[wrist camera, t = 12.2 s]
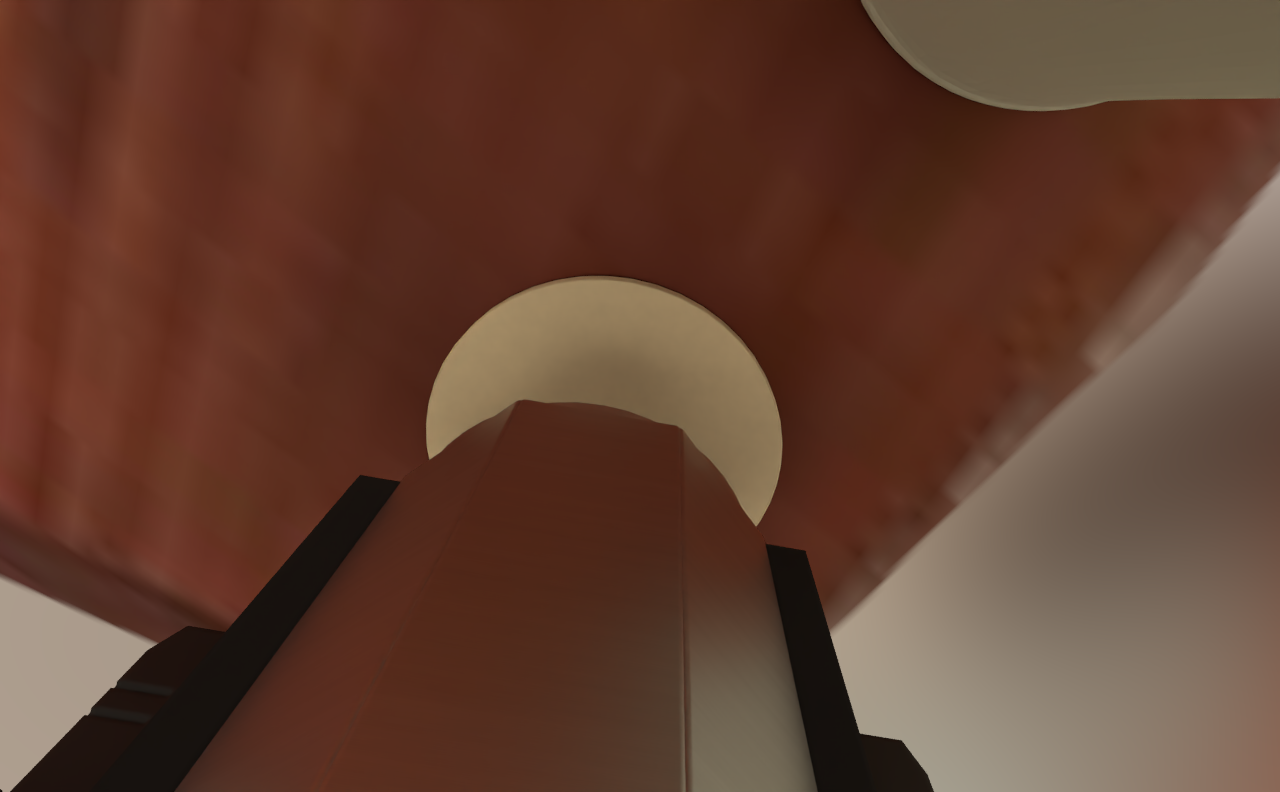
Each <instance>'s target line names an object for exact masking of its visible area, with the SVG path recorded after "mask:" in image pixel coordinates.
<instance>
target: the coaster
mask: <svg viewBox="0 0 1280 792" xmlns="http://www.w3.org/2000/svg"><path fill="white" fill-rule="evenodd" d="M523 399H527V400H533V401H539V402H544V403H552V402H581V403H589V404H598V405H605V406H609V407H613V408H618V409H622V410H626V411H629V412H632V413H635V414H637V415H640V416H643V417H645V418H648V419H651V420H653V421H655V422H659V423H665V424H671V425H676V426H678V427H679V428H681V429H683V430H684V431H685V433H686V434H687V435H688V437H689V438H690V439H691V441H692V442H693V443H694V445H695V446H696V447H697V449H698V450H699V451H700V452H702V453H703V454H704V455H705V456H706V457H707V458H708V459H709V460H710V461H711V462H712V463H713V464H714V465H715V467H716V468H717V469H718V470H719V471H720V472H721V474H722V475H723V476H724V477H725V479H726V480H727V482H728V484H729V485H730V487H731V488H732V490H733V491H734V493H735V495H736V497H737V499H738V501H739V503H740V506H741V507H742V509H743V510H744V511H745V513H746V514H747V515H748V517H749V518H750V519H751V521H752V522H753V523H754V525H755V526H757V525H758V524H759V522H760V521H761V519H762V517H763V515H764V513H765V511H766V510H767V508H768V506H769V504H770V502H771V499H772V496H773V494H774V491H775V488H776V486H777V482H778V477H779V472H780V468H781V460H782V444H783V443H782V432H781V421H780V417H779V413H778V409H777V405H776V401H775V398H774V395H773V392H772V390H771V387H770V385H769V383H768V380H767V378H766V375H765V373H764V372H763V370H762V368H761V367H760V365H759V363H758V361H757V360H756V358H755V356H754V355H753V354H752V352H751V351H750V350H749V348H748V347H747V346H746V345H745V343H744V342H743V341H742V340H741V338H740V337H739V336H738V335H737V334H736V333H735V332H734V331H733V330H732V329H731V328H730V327H729V326H728V325H726V324H725V323H724V322H723V321H722V320H721V319H720V318H718V317H717V316H715V315H714V314H713V313H711V312H710V311H709V310H707V309H706V308H705V307H703V306H702V305H700V304H698V303H696V302H694V301H692V300H691V299H689V298H687V297H685V296H683V295H682V294H679V293H677V292H674V291H672V290H669V289H666V288H664V287H661V286H659V285H656V284H652V283H648V282H644V281H640V280H636V279H631V278H622V277H613V276H579V277H572V278H566V279H559V280H554V281H551V282H547V283H544V284H540V285H537V286H534V287H531V288H529V289H527V290H524V291H522V292H520V293H518V294H515V295H513V296H511V297H509V298H508V299H506V300H504V301H503V302H501V303H500V304H498V305H496V306H495V307H493V308H492V309H490V310H489V311H488V312H487V313H485V314H484V315H483V316H482V317H481V318H479V319H478V320H477V321H476V322H475V323H474V324H473V325H472V326H471V327H470V328H469V329H468V330H467V331H466V332H465V334H464V335H463V336H462V337H461V338H460V339H459V340H458V341H457V343H456V344H455V345H454V347H453V348H452V350H451V351H450V353H449V354H448V356H447V357H446V359H445V361H444V362H443V364H442V366H441V368H440V371H439V373H438V375H437V377H436V380H435V382H434V385H433V388H432V392H431V396H430V399H429V403H428V411H427V420H426V441H427V450H428V455H429V460H430V459H431V458H433V457H434V456H436V455H437V454H438V453H440V452H441V451H442V450H443V449H444V448H445V447H446V446H447V445H448V444H449V443H451V442H452V441H453V440H454V439H456V438H457V437H458V436H459V435H461V434H462V433H463V432H465V431H466V430H468V429H470V428H472V427H473V426H475V425H477V424H478V423H480V422H482V421H484V420H486V419H488V418H491V417H493V416H495V415H497V414H498V413H500V412H501V411H502V410H504V409H505V408H507V407H508V406H510V405H511V404H513V403H514V402H516V401H517V400H521V401H522V400H523Z"/></svg>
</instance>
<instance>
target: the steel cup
mask: <svg viewBox="0 0 1280 792" xmlns="http://www.w3.org/2000/svg"><path fill="white" fill-rule="evenodd" d="M175 792H818V791H817V786H816V781H815V777H814V772H813V767H812V762H811V758H810V753H809V748H808V743H807V739H806V734H805V729H804V724H803V720H802V715H801V710H800V705H799V701H798V696H797V691H796V686H795V682H794V677H793V672H792V667H791V663H790V658H789V653H788V648H787V644H786V639H785V634H784V629H783V625H782V620H781V615H780V610H779V606H778V601H777V596H776V591H775V587H774V582H773V577H772V572H771V568H770V563H769V558H768V553H767V549H766V544H765V540H764V537H763V535H762V534H761V533H760V531H759V530H758V529H757V527H756V526H755V525H754V523H753V522H752V521H751V519H750V518H749V517H748V515H747V514H746V513H745V511H744V510H743V509H742V507H741V506H740V503H739V501H738V499H737V497H736V495H735V493H734V491H733V490H732V488H731V487H730V485H729V484H728V482H727V480H726V479H725V477H724V476H723V475H722V474H721V472H720V471H719V470H718V469H717V468H716V467H715V465H714V464H713V463H712V462H711V461H710V460H709V459H708V458H707V457H706V456H705V455H704V454H703V453H702V452H700V451H699V450H698V449H697V447H696V446H695V445H694V443H693V442H692V441H691V439H690V438H689V437H688V435H687V434H686V433H685V431H684V430H683V429H681V428H679V427H678V426H676V425H671V424H665V423H659V422H655V421H653V420H651V419H648V418H645V417H643V416H640V415H637V414H635V413H632V412H629V411H626V410H622V409H618V408H613V407H609V406H605V405H598V404H589V403H581V402H552V403H544V402H539V401H533V400H527V399H523V400H522V401H521V400H517V401H516V402H514V403H513V404H511V405H510V406H508V407H507V408H505V409H504V410H502V411H501V412H500V413H498V414H497V415H495V416H493V417H491V418H488V419H486V420H484V421H482V422H480V423H478V424H477V425H475V426H473V427H472V428H470V429H468V430H466V431H465V432H463V433H462V434H461V435H459V436H458V437H457V438H456V439H454V440H453V441H452V442H451V443H449V444H448V445H447V446H446V447H445V448H444V449H443V450H442V451H441V452H440V453H438V454H437V455H436V456H434V457H433V458H431V459H430V460H428V461H427V462H425V463H424V464H422V465H421V466H419V467H418V468H416V469H415V470H413V471H412V472H410V473H409V474H407V475H406V476H405V477H404V478H403V480H402V481H401V482H400V484H399V485H398V487H397V488H396V489H395V491H394V492H393V493H392V495H391V496H390V497H389V499H388V500H387V502H386V503H385V504H384V506H383V507H382V508H381V510H380V511H379V513H378V514H377V515H376V517H375V518H374V519H373V521H372V522H371V523H370V525H369V526H368V528H367V529H366V530H365V532H364V533H363V534H362V536H361V537H360V539H359V540H358V541H357V543H356V544H355V545H354V547H353V548H352V549H351V551H350V552H349V554H348V555H347V556H346V558H345V559H344V560H343V562H342V563H341V564H340V566H339V567H338V569H337V570H336V571H335V573H334V574H333V575H332V577H331V578H330V580H329V581H328V582H327V584H326V585H325V586H324V588H323V589H322V590H321V592H320V593H319V595H318V596H317V597H316V599H315V600H314V601H313V603H312V604H311V606H310V607H309V608H308V610H307V611H306V612H305V614H304V615H303V616H302V618H301V619H300V621H299V622H298V623H297V625H296V626H295V627H294V629H293V630H292V632H291V633H290V634H289V636H288V637H287V638H286V640H285V641H284V642H283V644H282V645H281V647H280V648H279V649H278V651H277V652H276V653H275V655H274V656H273V657H272V659H271V660H270V662H269V663H268V664H267V666H266V667H265V668H264V670H263V671H262V673H261V674H260V675H259V677H258V678H257V679H256V681H255V682H254V683H253V685H252V686H251V688H250V689H249V690H248V692H247V693H246V694H245V696H244V697H243V699H242V700H241V701H240V703H239V704H238V705H237V707H236V708H235V709H234V711H233V712H232V714H231V715H230V716H229V718H228V719H227V720H226V722H225V723H224V725H223V726H222V727H221V729H220V730H219V731H218V733H217V734H216V735H215V737H214V738H213V740H212V741H211V742H210V744H209V745H208V746H207V748H206V749H205V750H204V752H203V753H202V755H201V756H200V757H199V759H198V760H197V761H196V763H195V764H194V766H193V767H192V768H191V770H190V771H189V772H188V774H187V775H186V776H185V778H184V779H183V781H182V782H181V783H180V785H179V786H178V787H177V789H176V790H175Z"/></svg>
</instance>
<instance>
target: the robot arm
mask: <svg viewBox="0 0 1280 792" xmlns="http://www.w3.org/2000/svg"><path fill="white" fill-rule="evenodd" d="M399 484H400V482H398V481H392V480H386V479H380V478H374V477H368V476H363V475H360V476H359V477H358V478H357V479H356V480H355V482H354V483H353V484H352V485H351V486H350V487H349V489H348V490H347V491H346V492H345V493H344V494H343V496H342V497H341V498H340V499H339V500H338V501H337V503H336V504H335V505H334V506H333V507H332V508H331V510H330V511H329V512H328V513H327V514H326V515H325V517H324V518H323V519H322V520H321V521H320V522H319V524H318V525H317V526H316V527H315V528H314V529H313V531H312V532H311V533H310V534H309V535H308V536H307V538H306V539H305V540H304V541H303V542H302V543H301V545H300V546H299V547H298V548H297V549H296V550H295V552H294V553H293V554H292V555H291V556H290V557H289V559H288V560H287V561H286V562H285V563H284V565H283V566H282V567H281V568H280V569H279V570H278V572H277V573H276V574H275V575H274V576H273V577H272V579H271V580H270V581H269V582H268V583H267V584H266V586H265V587H264V588H263V589H262V590H261V591H260V593H259V594H258V595H257V596H256V597H255V598H254V600H253V601H252V602H251V603H250V604H249V605H248V607H247V608H246V609H245V610H244V611H243V612H242V614H241V615H240V616H239V617H238V618H237V619H236V621H235V622H234V623H233V624H232V625H231V626H230V628H229V629H228V630H227V631H226V632H222V631H216V630H210V629H204V628H198V627H192V626H187V627H185V628H184V629H182V630H180V631H179V632H177V633H175V634H174V635H172V636H170V637H169V638H167V639H165V640H164V641H162V642H160V643H159V644H157V645H155V646H154V647H152V648H150V649H149V650H147V651H146V652H145V654H144V655H142V657H141V658H140V659H139V660H138V661H137V662H136V663H135V664H134V665H133V666H132V667H131V668H130V669H129V670H128V671H127V672H126V673H125V674H124V675H123V676H122V677H121V678H120V679H119V680H118V682H117V685H116V687H115V688H110V690H109V691H108V692H107V693H106V694H105V695H104V696H103V697H102V698H101V699H100V700H99V701H98V702H97V703H96V704H95V705H94V706H93V707H92V708H91V712H90V714H89V715H88V716H87V715H84V716H83V717H82V718H81V719H80V720H79V721H78V722H77V723H76V725H75V726H74V727H73V728H72V729H71V730H70V731H69V732H68V733H67V734H66V735H65V736H64V737H63V738H62V739H61V740H60V741H59V742H58V743H57V744H56V745H55V746H54V747H53V748H52V749H51V750H50V751H49V752H48V753H47V754H46V755H45V756H44V758H43V759H42V760H41V761H40V762H39V763H38V764H37V765H36V766H35V767H34V768H33V769H32V770H31V771H30V772H29V773H28V774H27V775H26V776H25V777H24V778H23V779H22V780H21V781H20V782H19V783H18V784H17V785H16V786H15V787H14V788H13V789H12V791H10V792H175V790H176V789H177V787H178V786H179V785H180V783H181V782H182V781H183V779H184V778H185V776H186V775H187V774H188V772H189V771H190V770H191V768H192V767H193V766H194V764H195V763H196V761H197V760H198V759H199V757H200V756H201V755H202V753H203V752H204V750H205V749H206V748H207V746H208V745H209V744H210V742H211V741H212V740H213V738H214V737H215V735H216V734H217V733H218V731H219V730H220V729H221V727H222V726H223V725H224V723H225V722H226V720H227V719H228V718H229V716H230V715H231V714H232V712H233V711H234V709H235V708H236V707H237V705H238V704H239V703H240V701H241V700H242V699H243V697H244V696H245V694H246V693H247V692H248V690H249V689H250V688H251V686H252V685H253V683H254V682H255V681H256V679H257V678H258V677H259V675H260V674H261V673H262V671H263V670H264V668H265V667H266V666H267V664H268V663H269V662H270V660H271V659H272V657H273V656H274V655H275V653H276V652H277V651H278V649H279V648H280V647H281V645H282V644H283V642H284V641H285V640H286V638H287V637H288V636H289V634H290V633H291V632H292V630H293V629H294V627H295V626H296V625H297V623H298V622H299V621H300V619H301V618H302V616H303V615H304V614H305V612H306V611H307V610H308V608H309V607H310V606H311V604H312V603H313V601H314V600H315V599H316V597H317V596H318V595H319V593H320V592H321V590H322V589H323V588H324V586H325V585H326V584H327V582H328V581H329V580H330V578H331V577H332V575H333V574H334V573H335V571H336V570H337V569H338V567H339V566H340V564H341V563H342V562H343V560H344V559H345V558H346V556H347V555H348V554H349V552H350V551H351V549H352V548H353V547H354V545H355V544H356V543H357V541H358V540H359V539H360V537H361V536H362V534H363V533H364V532H365V530H366V529H367V528H368V526H369V525H370V523H371V522H372V521H373V519H374V518H375V517H376V515H377V514H378V513H379V511H380V510H381V508H382V507H383V506H384V504H385V503H386V502H387V500H388V499H389V497H390V496H391V495H392V493H393V492H394V491H395V489H396V488H397V487H398V485H399ZM766 549H767V553H768V558H769V563H770V568H771V572H772V577H773V582H774V587H775V591H776V596H777V601H778V606H779V610H780V615H781V620H782V625H783V629H784V634H785V639H786V644H787V648H788V653H789V658H790V663H791V667H792V672H793V677H794V682H795V686H796V691H797V696H798V701H799V705H800V710H801V715H802V720H803V724H804V729H805V734H806V739H807V743H808V748H809V753H810V758H811V762H812V767H813V772H814V777H815V781H816V786H817V791H818V792H934V791H933V788H932V786H931V783H930V780H929V778H928V775H927V774H926V772H925V771H924V770H923V768H922V767H921V766H920V764H919V763H918V762H917V760H916V759H915V758H914V756H913V755H912V754H911V752H910V751H909V750H908V748H907V747H906V746H905V744H904V743H903V742H902V741H901V740H895V739H889V738H883V737H876V736H871V735H864V734H860V733H859V730H858V727H857V723H856V720H855V717H854V713H853V710H852V706H851V703H850V700H849V696H848V693H847V690H846V686H845V683H844V679H843V676H842V673H841V669H840V666H839V663H838V659H837V656H836V652H835V649H834V646H833V643H832V639H831V636H830V632H829V629H828V625H827V622H826V619H825V615H824V612H823V609H822V605H821V602H820V598H819V595H818V592H817V588H816V585H815V582H814V578H813V575H812V571H811V568H810V565H809V561H808V558H807V555H806V551H804V550H798V549H792V548H786V547H780V546H774V545H768V544H766ZM0 792H2V790H1V789H0Z"/></svg>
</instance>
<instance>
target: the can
mask: <svg viewBox="0 0 1280 792" xmlns="http://www.w3.org/2000/svg"><path fill="white" fill-rule="evenodd" d="M861 2H862V4H863V6H864V8H865V10H866V11H867V13H868V15H869V17H870V18H871V20H872V21H873V23H874V24H875V25H876V27H877V28H878V30H879V31H880V32H881V34H882V35H883V36H884V38H885V39H886V40H887V41H888V43H889V44H890V45H891V46H892V47H893V49H894V50H895V51H896V52H897V53H898V54H899V55H900V56H901V57H902V58H904V59H905V60H906V61H907V62H908V63H909V64H910V65H911V66H912V67H913V68H914V69H916V70H917V71H919V72H920V73H921V74H923V75H924V76H925V77H927V78H928V79H930V80H931V81H933V82H934V83H936V84H938V85H940V86H942V87H943V88H945V89H947V90H949V91H950V92H953V93H955V94H957V95H960V96H962V97H964V98H967V99H969V100H973V101H976V102H979V103H983V104H987V105H991V106H996V107H1000V108H1005V109H1014V110H1024V111H1053V110H1067V109H1074V108H1080V107H1086V106H1091V105H1095V104H1098V103H1102V102H1106V101H1122V100H1158V99H1248V98H1280V0H861Z"/></svg>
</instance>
